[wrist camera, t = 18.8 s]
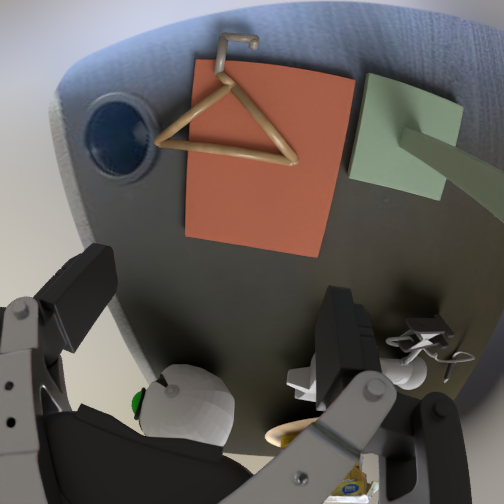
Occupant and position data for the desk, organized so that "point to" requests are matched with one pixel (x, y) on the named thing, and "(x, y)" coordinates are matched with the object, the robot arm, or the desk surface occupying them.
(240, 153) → the hanger
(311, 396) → the bunny figurine
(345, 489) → the stacked boxes on plate
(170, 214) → the desk surface
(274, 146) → the mat
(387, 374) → the clip-on lamp
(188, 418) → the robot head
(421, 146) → the hook stand
